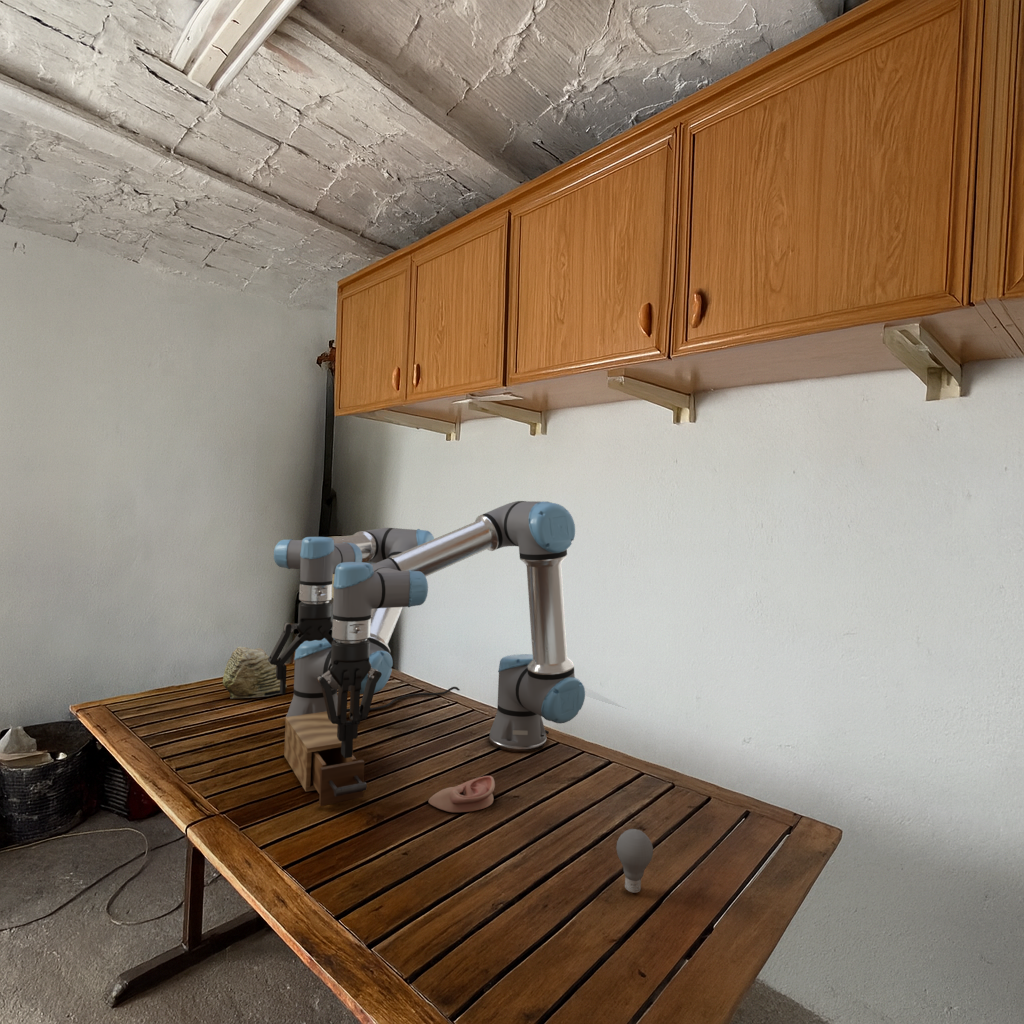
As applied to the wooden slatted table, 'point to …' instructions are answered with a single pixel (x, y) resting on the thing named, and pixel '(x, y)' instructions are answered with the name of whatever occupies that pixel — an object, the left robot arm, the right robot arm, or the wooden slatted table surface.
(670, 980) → the wooden slatted table surface
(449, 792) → the anatomical model
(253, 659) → the fossil
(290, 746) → the cabinet
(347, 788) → the drawer
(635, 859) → the light bulb
